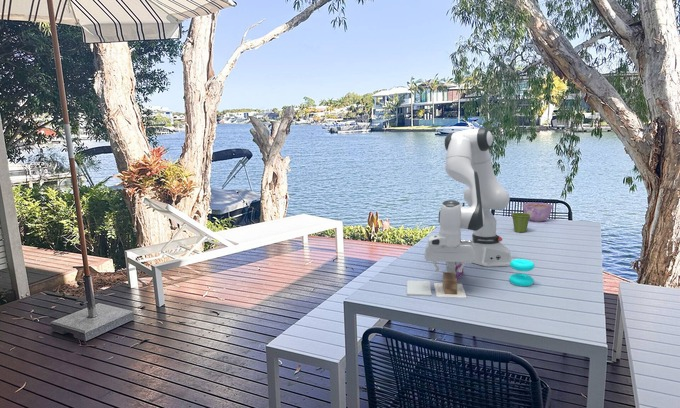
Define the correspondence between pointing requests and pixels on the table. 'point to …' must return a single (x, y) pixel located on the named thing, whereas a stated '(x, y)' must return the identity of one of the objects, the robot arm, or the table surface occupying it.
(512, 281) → the donuts
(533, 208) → the bowl of food
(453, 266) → the candy bar box
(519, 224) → the plant pot
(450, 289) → the walnut block
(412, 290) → the grey mat
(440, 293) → the plate
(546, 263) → the table surface
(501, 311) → the table surface
